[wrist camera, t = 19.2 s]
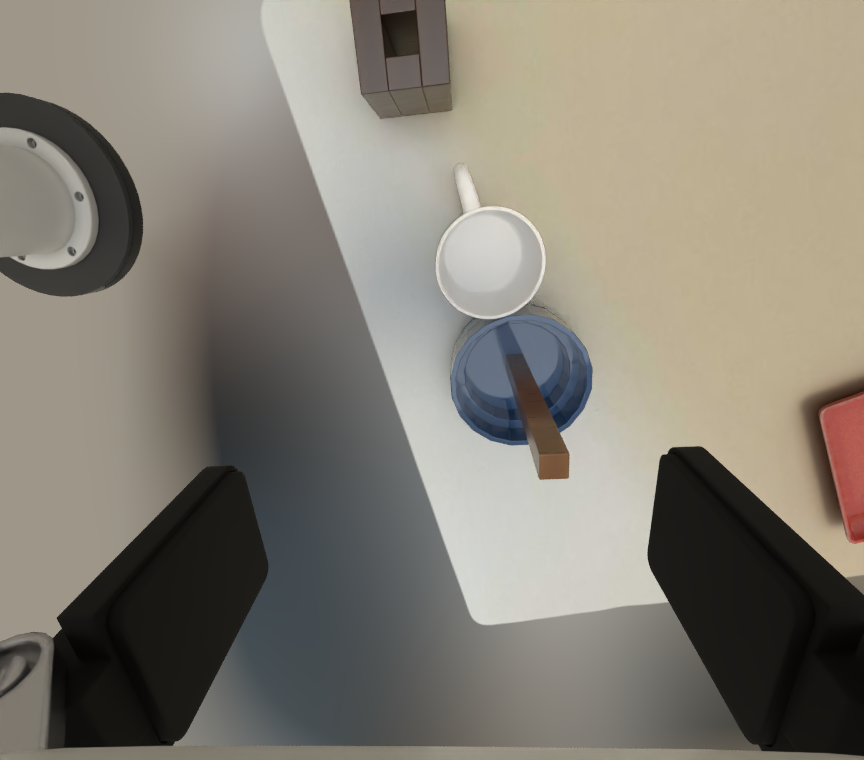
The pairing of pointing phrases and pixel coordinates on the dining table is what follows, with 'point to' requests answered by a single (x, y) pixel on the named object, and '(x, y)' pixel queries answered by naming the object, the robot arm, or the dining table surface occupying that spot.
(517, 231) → the cup
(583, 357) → the bowl
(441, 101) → the stand
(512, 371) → the stick
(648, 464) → the dining table surface
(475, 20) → the dining table surface
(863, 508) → the plant saucer
